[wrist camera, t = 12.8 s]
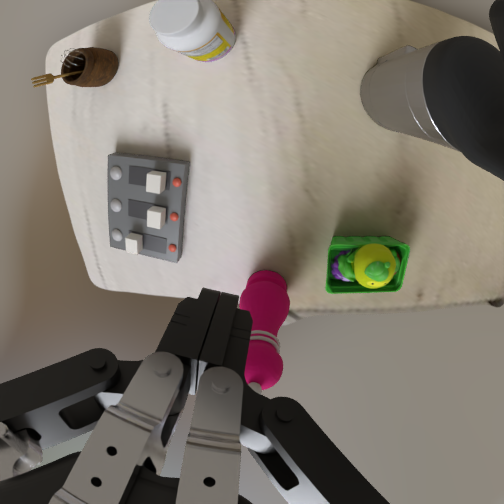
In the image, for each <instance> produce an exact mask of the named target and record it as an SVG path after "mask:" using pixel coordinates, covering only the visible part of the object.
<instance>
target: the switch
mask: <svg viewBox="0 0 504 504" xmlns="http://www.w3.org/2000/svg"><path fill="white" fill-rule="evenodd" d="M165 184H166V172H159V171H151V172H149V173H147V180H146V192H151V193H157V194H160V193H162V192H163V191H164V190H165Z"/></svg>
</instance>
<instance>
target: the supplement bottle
mask: <svg viewBox="0 0 504 504" xmlns="http://www.w3.org/2000/svg"><path fill="white" fill-rule="evenodd" d="M149 22H150V25H151V27H152V28H153V29H154V30H155V32H156V36H157V38H158V40H159V41H160V42H161V43H162V44H163V45H164V46H166V47H167V48H169V49H172V50H174V51H177V52H179V53H181V54H184V55H186V56H188V57H190V58H193V59H195V60H198V61H201V62H212V61H216V60H219V59H221V58H223V57H224V56H226V55H227V54H228V53H229V52H230V51H231V49H232V48H233V46H234V43H235V38H236V36H235V31H234V29H233V27H232V25H231V24H230V22H229V21H228V20H227V18H226V17H225V16H224V15H223V13H222V12H221V11H220V9H219V8H218V7H217V5H216V4H215V3H214V2H213V1H212V0H158V1H157V2H156V3H155V5H154V6H153V7H152V9H151V12H150V15H149Z"/></svg>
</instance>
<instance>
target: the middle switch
mask: <svg viewBox="0 0 504 504" xmlns="http://www.w3.org/2000/svg"><path fill="white" fill-rule="evenodd" d="M165 216H166V208H163V207H157V206H152V207H151V208H149V209H148V210H147V227H152V228H156V229H161V228H162V227H163V226H164V225H165Z"/></svg>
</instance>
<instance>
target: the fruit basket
mask: <svg viewBox="0 0 504 504" xmlns="http://www.w3.org/2000/svg"><path fill="white" fill-rule="evenodd" d="M409 253H410V247H409V246H408V245H407V244H405V243H401V242H399V241H397V240H395V239H393V238H392V237H390V236H381V237H379V238H378V237H376V236H366V237H363V238H362V237H360V236H349V237H343V236H334V237H333V238H332V242H331V245H330V247H329V249H328V264H327V278H326V291H327V292H328V293H331V294H337V293H372V292H396V291H398V290H400V289H401V287H402V284H403V279H404V275H405V270H406V266H407V262H408V258H409Z"/></svg>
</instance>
